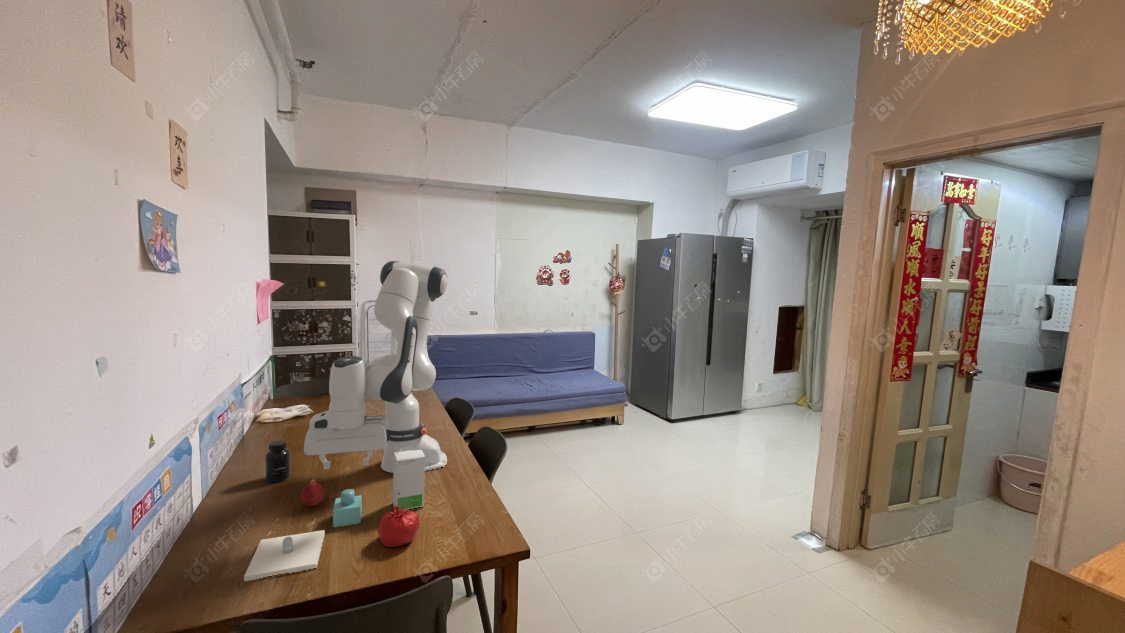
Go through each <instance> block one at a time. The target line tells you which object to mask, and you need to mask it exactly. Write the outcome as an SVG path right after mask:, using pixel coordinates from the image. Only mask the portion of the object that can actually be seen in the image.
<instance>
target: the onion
mask: <svg viewBox="0 0 1125 633" xmlns="http://www.w3.org/2000/svg"><path fill="white" fill-rule="evenodd" d="M324 496H325V489H324V487H323V485H321V484H320V483H318V482H316V480H315V479H312V480H311V481H310V482H309V483H307V484H306V485H305V486H304V487H303V489H302V490H301V494H300V499H301V502H302V503H303V504H304V505H305V506H308V507H316V505H318V504H319V503H320V502H321V501H322V500H323V498H324Z"/></svg>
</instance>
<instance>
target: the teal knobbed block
mask: <svg viewBox="0 0 1125 633" xmlns="http://www.w3.org/2000/svg"><path fill="white" fill-rule="evenodd" d="M355 492H356V491H355V489H353V488H352V489H351V488H350V489H349V488H348V489H344V490H342V491H341V492H340V497H337V498H335V501H334V504H333V509H332V525H333V526H332V527H334V528H340V527H345V526H344V525H347V526H351V524H354V525H358V524H357V523H360V524H361V520H362V511H363V509H362V508H363V506H362V502H363V500H362V499H363V497H362V494H360V495H355ZM339 526H340V527H339Z"/></svg>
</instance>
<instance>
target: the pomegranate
mask: <svg viewBox="0 0 1125 633" xmlns="http://www.w3.org/2000/svg"><path fill="white" fill-rule="evenodd" d="M405 507H407V506H405ZM405 507H403V508H402V509H401V510H399V506H397V505H396V506H395V507H394V506H393V511H389V512H386V513H384V515H383V517H382V518H381V519H380V521H379V523H378V527H377V532H378V536H379V538H380V541H381V543H382V545H383V546H385V547H387V548H388V547H389V548H393V547H400V546H403V545H407V544H409V543H410V542H412V541H413V540H414V539H415V537H416V536H417V533H418V531H419V528H420V516H419V515H418V514H417V513H416V512H415V511H414V510H404V508H405Z"/></svg>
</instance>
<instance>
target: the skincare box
mask: <svg viewBox="0 0 1125 633" xmlns="http://www.w3.org/2000/svg"><path fill="white" fill-rule="evenodd" d="M425 473H426V471H425V455H424V453H423V451H422V450H413V451H404V452H395V453H394V473H393V477H392V478H393V482H392V483H393V484H392V504H393V507H395V506H396V505H397V506H399V510H401V509H402V508H403V507H405V506H407V507H405V508H404V510H407V509H408V510H409V509H412V508H417V507H421V506H424V507H425V481H426V480H425V476H426V475H425ZM417 509H418V508H417ZM412 510H413V509H412Z"/></svg>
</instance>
